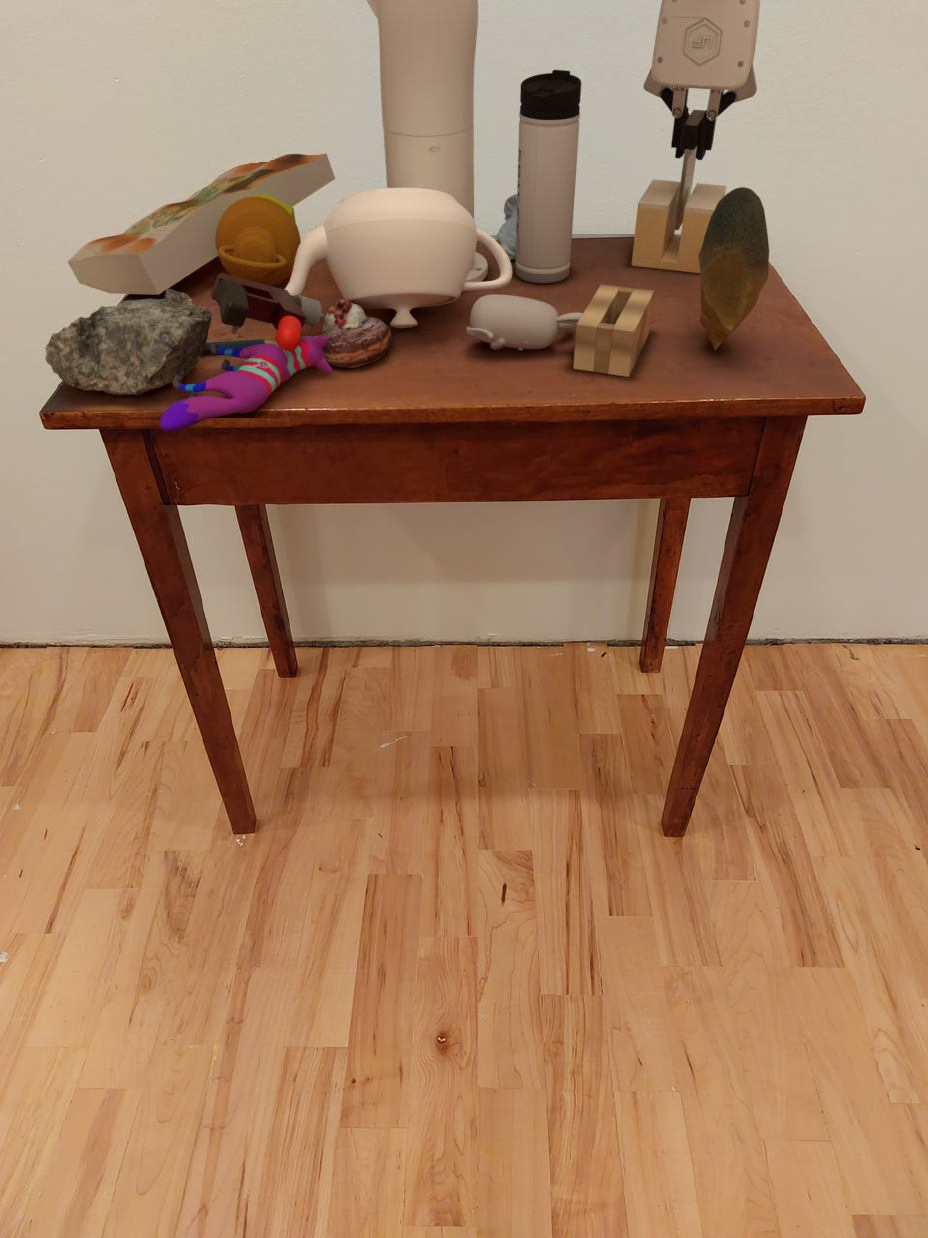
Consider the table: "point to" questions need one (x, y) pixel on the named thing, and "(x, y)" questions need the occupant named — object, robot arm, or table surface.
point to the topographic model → (191, 227)
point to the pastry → (353, 336)
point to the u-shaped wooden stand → (673, 226)
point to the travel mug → (546, 175)
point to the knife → (688, 161)
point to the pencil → (237, 344)
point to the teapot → (398, 251)
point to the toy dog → (243, 381)
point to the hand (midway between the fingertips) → (690, 154)
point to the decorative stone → (732, 263)
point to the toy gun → (265, 308)
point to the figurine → (509, 228)
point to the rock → (131, 345)
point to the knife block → (613, 330)
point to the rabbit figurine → (517, 322)
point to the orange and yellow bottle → (258, 239)
